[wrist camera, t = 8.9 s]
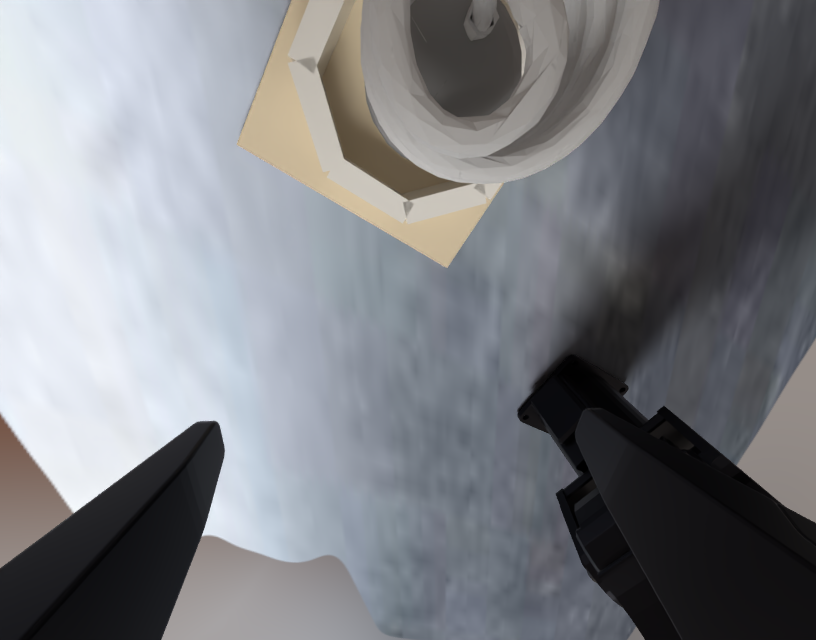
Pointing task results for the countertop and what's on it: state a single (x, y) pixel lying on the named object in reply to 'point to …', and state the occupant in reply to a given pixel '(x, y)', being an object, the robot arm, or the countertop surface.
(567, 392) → the robot arm
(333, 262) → the countertop surface
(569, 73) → the light bulb
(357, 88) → the socket
